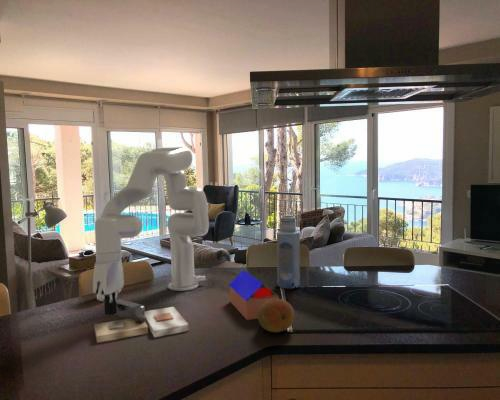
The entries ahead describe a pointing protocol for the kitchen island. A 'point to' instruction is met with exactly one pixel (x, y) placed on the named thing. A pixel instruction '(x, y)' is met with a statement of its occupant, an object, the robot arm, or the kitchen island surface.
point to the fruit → (276, 315)
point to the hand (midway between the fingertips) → (110, 313)
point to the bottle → (288, 253)
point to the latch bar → (130, 310)
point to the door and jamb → (143, 325)
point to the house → (249, 295)
